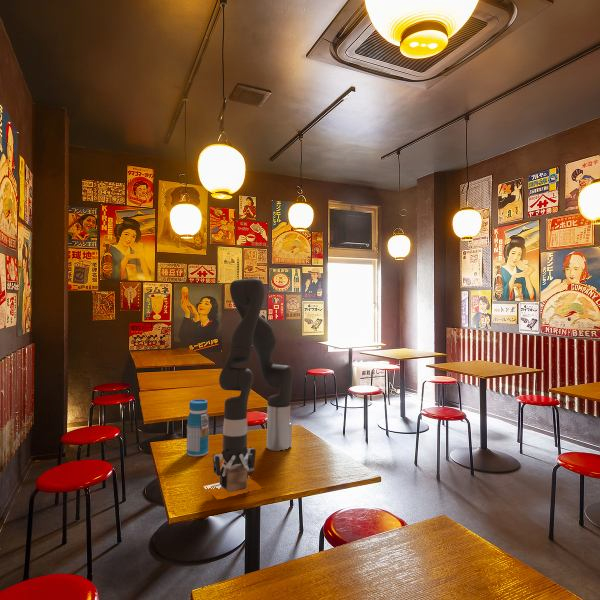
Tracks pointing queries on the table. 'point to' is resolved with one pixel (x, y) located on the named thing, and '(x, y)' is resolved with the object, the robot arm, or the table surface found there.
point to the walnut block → (236, 478)
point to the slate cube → (247, 462)
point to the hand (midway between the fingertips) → (233, 484)
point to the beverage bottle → (197, 428)
